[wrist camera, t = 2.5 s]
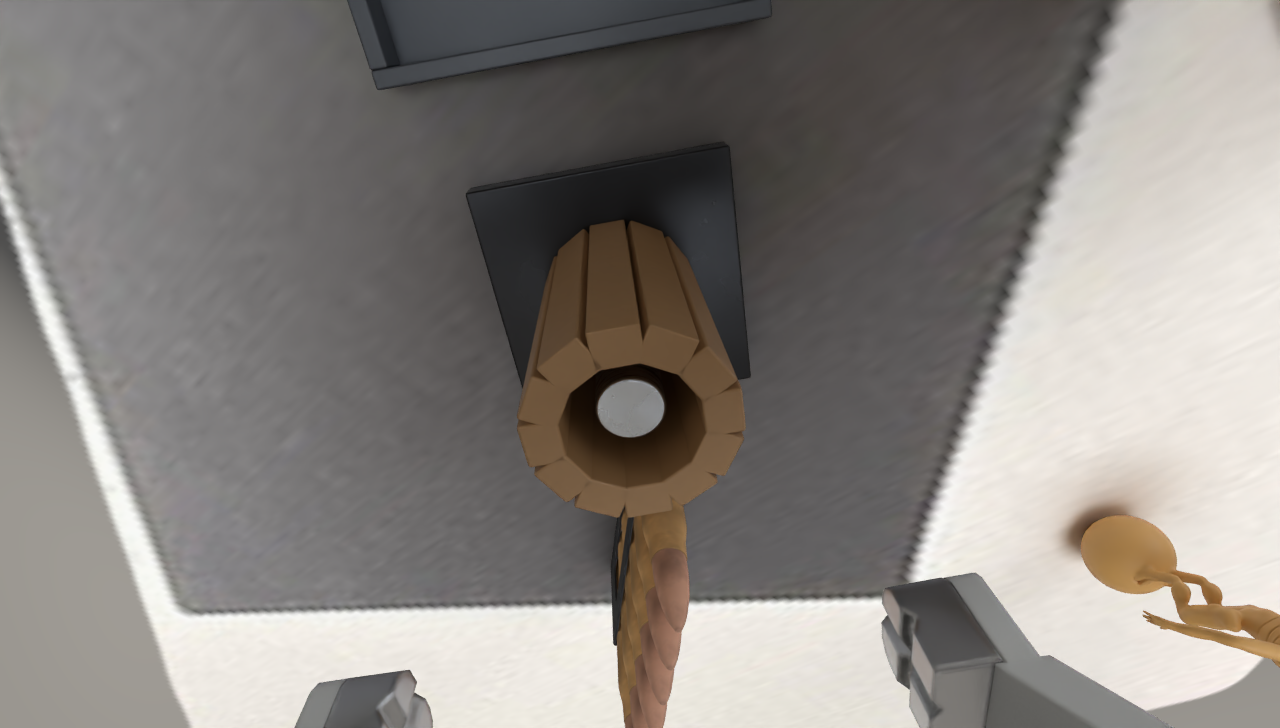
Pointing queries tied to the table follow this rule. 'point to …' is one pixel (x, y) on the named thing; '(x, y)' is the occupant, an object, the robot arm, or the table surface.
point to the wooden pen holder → (620, 336)
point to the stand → (631, 191)
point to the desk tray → (519, 31)
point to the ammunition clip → (648, 610)
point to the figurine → (1173, 585)
